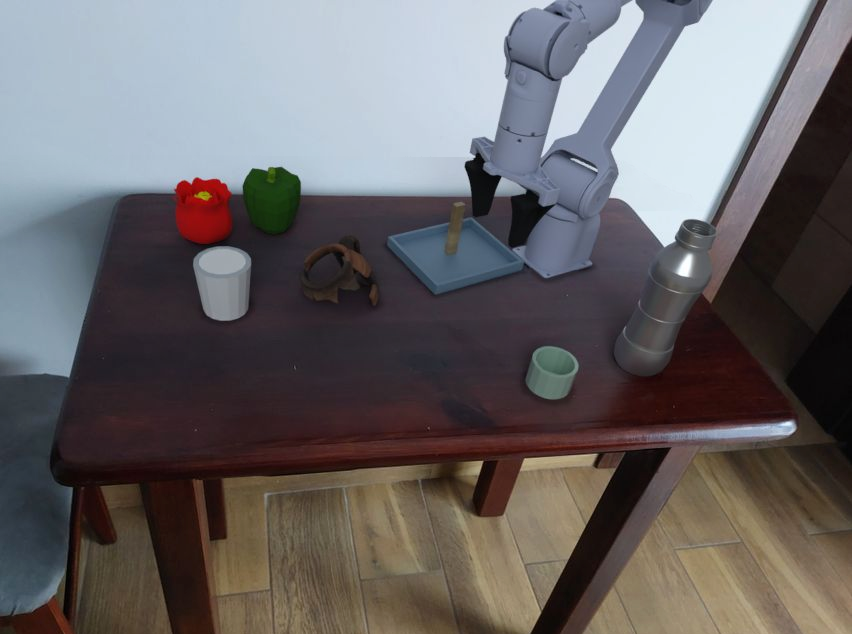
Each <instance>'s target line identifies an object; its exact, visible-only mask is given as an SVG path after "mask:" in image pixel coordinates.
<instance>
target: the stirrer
mask: <svg viewBox="0 0 852 634" xmlns="http://www.w3.org/2000/svg"><path fill="white" fill-rule="evenodd" d="M465 211H466V203H464V202H463V201H459V202H453V203H452V206H451V212H450V217H449V222H450V223H449V222H448V223H449V228H448V234H447V240H446V245H445V251H444V252H445V253H446V254H447V255H450V254H454V253H457V248H458V243H459V237H460V232H461V227H462V222H463V219H464V216H465V213H466V212H465Z"/></svg>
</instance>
